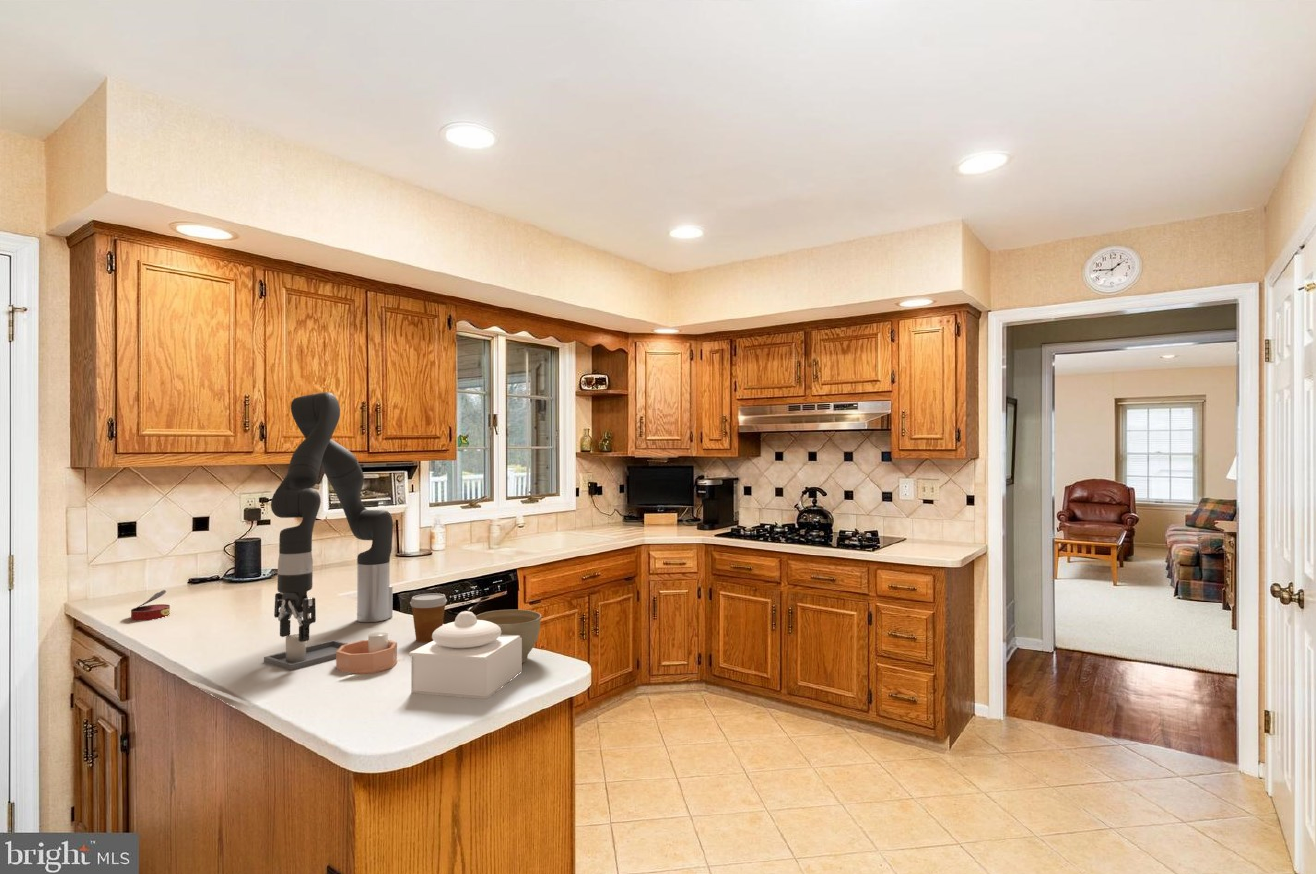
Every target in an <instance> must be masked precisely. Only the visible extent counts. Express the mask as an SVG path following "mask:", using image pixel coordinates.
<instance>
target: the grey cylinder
mask: <svg viewBox="0 0 1316 874" xmlns="http://www.w3.org/2000/svg"><path fill="white" fill-rule="evenodd" d="M306 647H307V641H304V642H300V641H299V633H295V634H290V635H289V636H285V652H286V662H288V663H291V664H293V663H297V662H301V661H305V660H306Z"/></svg>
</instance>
